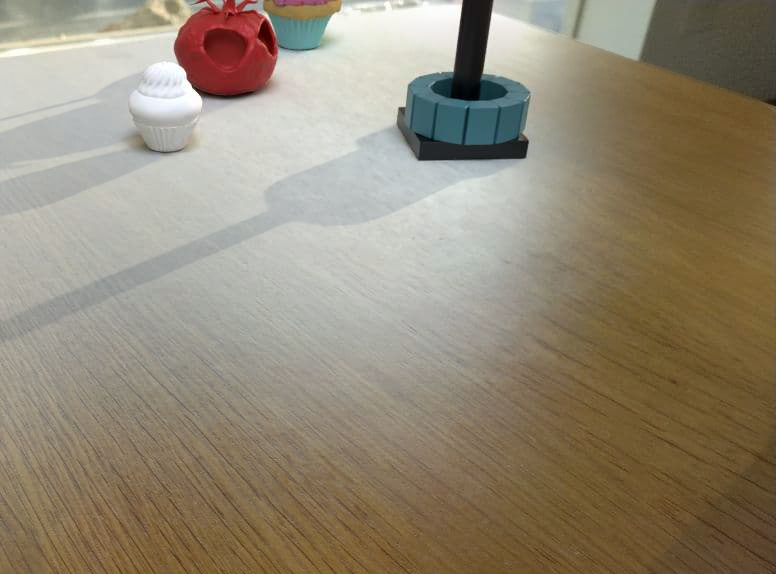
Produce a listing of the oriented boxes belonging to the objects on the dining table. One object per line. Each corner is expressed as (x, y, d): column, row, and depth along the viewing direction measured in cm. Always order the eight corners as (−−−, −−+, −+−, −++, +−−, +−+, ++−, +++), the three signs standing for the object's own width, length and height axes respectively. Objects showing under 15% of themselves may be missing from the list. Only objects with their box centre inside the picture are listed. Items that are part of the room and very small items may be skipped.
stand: (495, 121, 88) (521, -41, 80) (526, 158, 81) (557, -17, 73) (396, 123, 87) (412, -40, 80) (418, 160, 80) (438, -16, 72)
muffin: (218, 144, 83) (217, 60, 79) (166, 164, 79) (163, 76, 75) (167, 127, 86) (163, 45, 82) (115, 146, 82) (109, 61, 78)
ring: (504, 105, 87) (509, 70, 85) (538, 143, 79) (545, 107, 77) (395, 106, 87) (398, 72, 85) (418, 145, 79) (423, 108, 77)
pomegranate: (157, 81, 97) (153, -19, 92) (242, 66, 102) (242, -30, 96) (210, 109, 90) (208, 3, 85) (298, 91, 95) (302, -11, 90)
